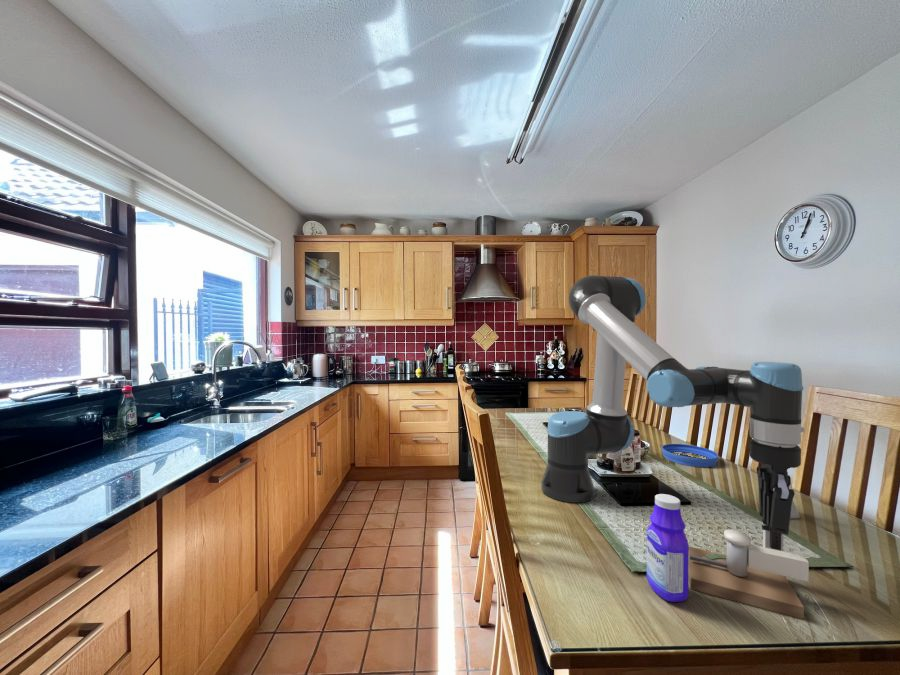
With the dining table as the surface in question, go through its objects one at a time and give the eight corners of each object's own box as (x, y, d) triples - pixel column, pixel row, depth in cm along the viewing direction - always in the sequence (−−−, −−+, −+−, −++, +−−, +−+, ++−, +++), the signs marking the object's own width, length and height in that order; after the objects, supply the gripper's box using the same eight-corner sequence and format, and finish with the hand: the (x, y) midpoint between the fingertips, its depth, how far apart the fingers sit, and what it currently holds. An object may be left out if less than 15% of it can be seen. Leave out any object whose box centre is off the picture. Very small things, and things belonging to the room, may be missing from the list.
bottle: (640, 579, 72) (641, 490, 72) (667, 577, 73) (669, 489, 73) (664, 606, 65) (666, 508, 65) (695, 604, 66) (696, 507, 65)
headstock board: (690, 588, 70) (690, 577, 70) (684, 554, 80) (684, 544, 80) (803, 619, 62) (803, 606, 62) (779, 577, 73) (780, 566, 73)
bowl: (730, 468, 132) (730, 459, 132) (679, 468, 132) (679, 458, 132) (697, 452, 150) (697, 443, 150) (652, 451, 150) (652, 443, 150)
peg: (690, 565, 73) (691, 530, 73) (688, 554, 77) (689, 520, 76) (810, 594, 65) (811, 555, 65) (801, 581, 68) (802, 543, 68)
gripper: (814, 454, 65) (812, 588, 65) (787, 436, 76) (785, 549, 77) (759, 448, 68) (757, 575, 69) (742, 431, 80) (740, 540, 80)
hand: (772, 561), depth 73 cm, fingers closed
